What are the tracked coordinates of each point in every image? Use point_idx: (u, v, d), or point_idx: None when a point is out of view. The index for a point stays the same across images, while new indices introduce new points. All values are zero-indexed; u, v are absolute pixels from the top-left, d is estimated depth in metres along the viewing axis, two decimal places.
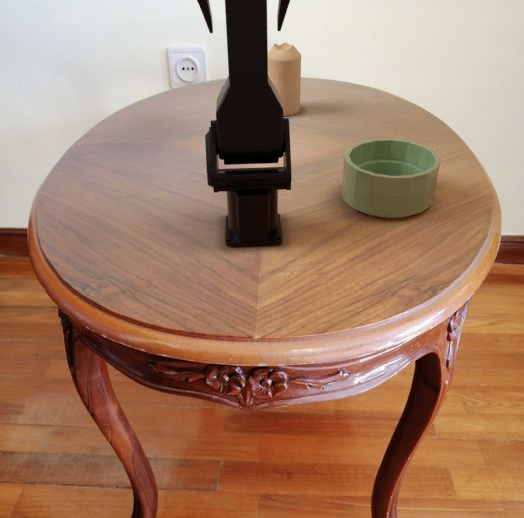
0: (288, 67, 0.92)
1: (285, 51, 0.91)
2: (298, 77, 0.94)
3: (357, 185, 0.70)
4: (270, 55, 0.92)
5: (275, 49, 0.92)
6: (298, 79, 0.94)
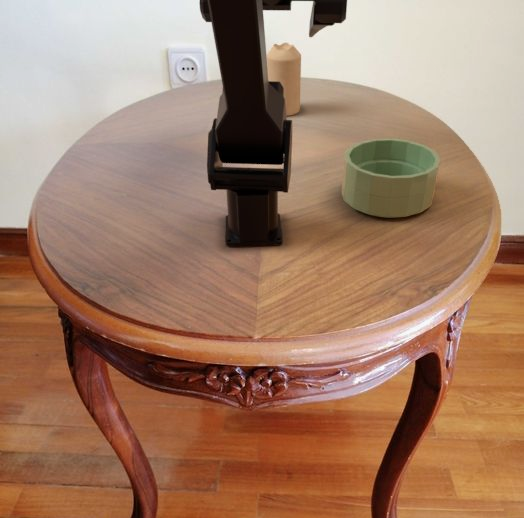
0: (288, 67, 0.92)
1: (285, 51, 0.91)
2: (298, 77, 0.94)
3: (357, 185, 0.70)
4: (270, 55, 0.92)
5: (275, 49, 0.92)
6: (298, 79, 0.94)
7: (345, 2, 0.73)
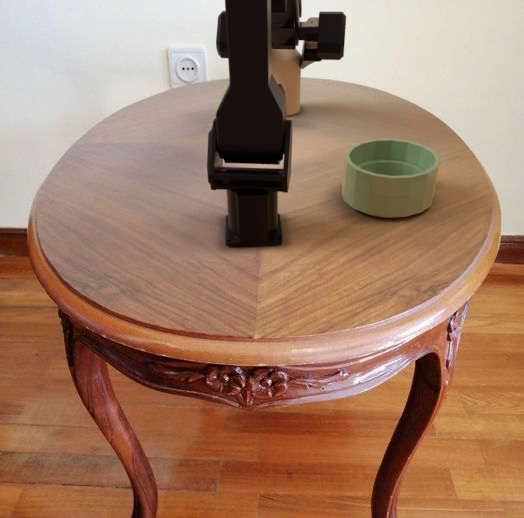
0: (288, 67, 0.92)
1: (285, 51, 0.91)
2: (298, 77, 0.94)
3: (357, 185, 0.70)
4: None
5: (275, 49, 0.92)
6: (298, 79, 0.94)
7: (343, 43, 0.84)
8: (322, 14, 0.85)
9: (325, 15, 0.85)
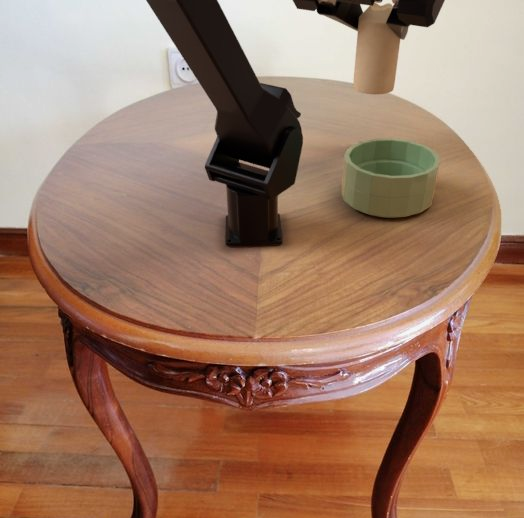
0: (377, 33, 0.74)
1: (378, 12, 0.73)
2: (390, 48, 0.75)
3: (357, 185, 0.70)
4: (361, 15, 0.75)
5: (369, 8, 0.74)
6: (391, 50, 0.75)
7: (431, 3, 0.64)
8: None
9: None
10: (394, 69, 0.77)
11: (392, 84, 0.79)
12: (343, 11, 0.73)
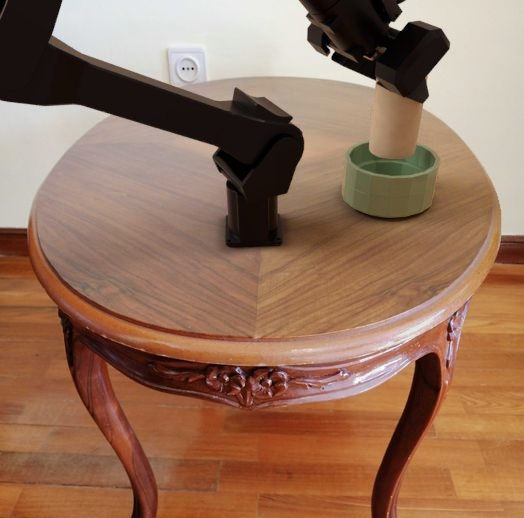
0: (386, 91, 0.64)
1: None
2: (401, 110, 0.65)
3: (357, 185, 0.70)
4: None
5: None
6: (402, 113, 0.65)
7: (402, 72, 0.54)
8: (410, 24, 0.55)
9: (412, 26, 0.55)
10: (408, 134, 0.67)
11: (406, 150, 0.68)
12: (357, 61, 0.65)
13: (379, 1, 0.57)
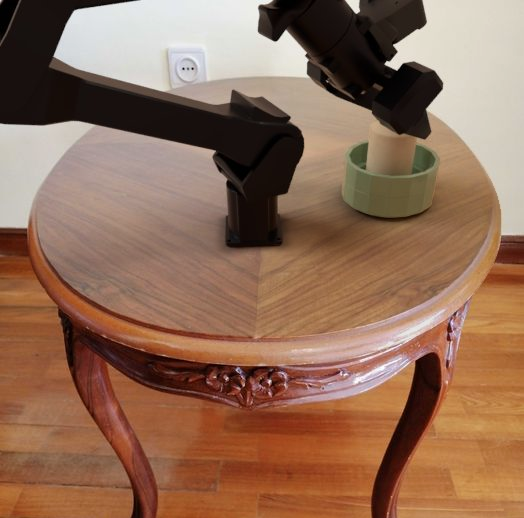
0: (379, 144, 0.68)
1: None
2: (394, 161, 0.69)
3: (357, 185, 0.70)
4: None
5: None
6: (394, 164, 0.69)
7: (397, 112, 0.57)
8: (405, 65, 0.58)
9: (406, 67, 0.57)
10: None
11: None
12: None
13: (375, 42, 0.59)
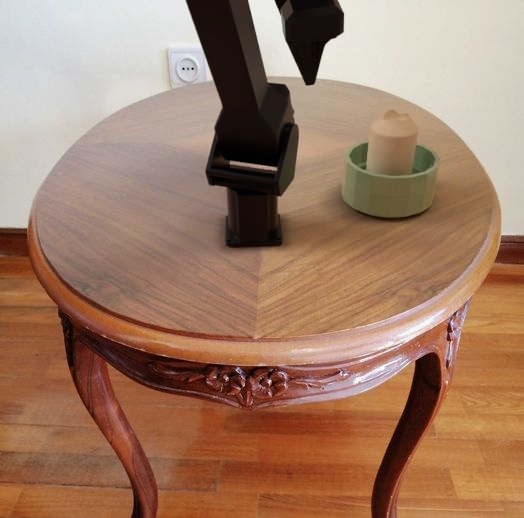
0: (379, 144, 0.68)
1: (385, 122, 0.67)
2: (394, 161, 0.69)
3: (357, 185, 0.70)
4: (374, 121, 0.69)
5: (382, 116, 0.69)
6: (394, 164, 0.69)
7: (296, 16, 0.60)
8: None
9: None
10: None
11: None
12: (283, 1, 0.72)
13: None
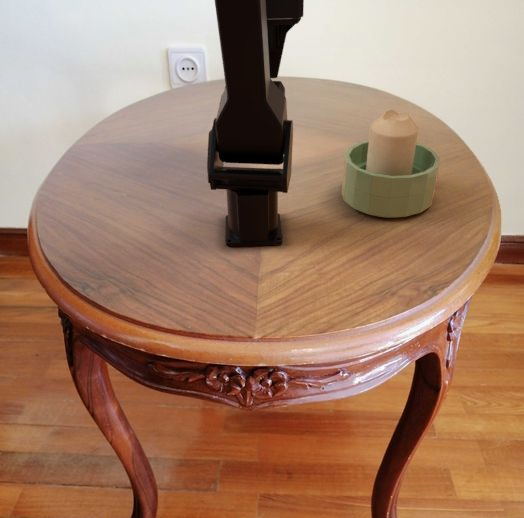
0: (379, 144, 0.68)
1: (385, 122, 0.67)
2: (394, 161, 0.69)
3: (357, 185, 0.70)
4: (374, 121, 0.69)
5: (382, 116, 0.69)
6: (394, 164, 0.69)
7: None
8: None
9: None
10: None
11: None
12: None
13: None
